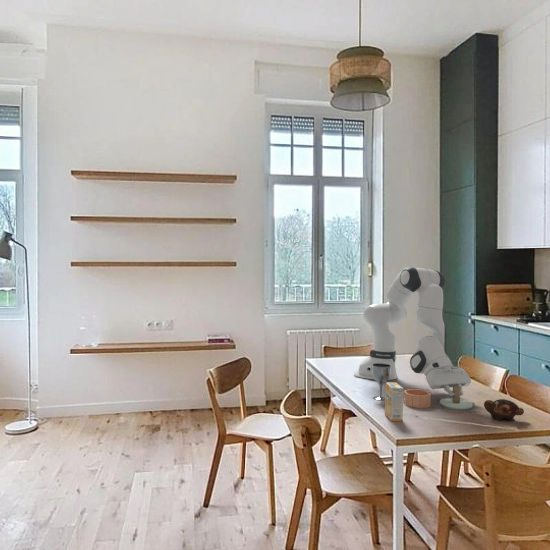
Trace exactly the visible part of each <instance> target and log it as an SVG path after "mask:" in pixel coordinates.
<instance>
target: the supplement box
mask: <svg viewBox="0 0 550 550" xmlns="http://www.w3.org/2000/svg"><path fill="white" fill-rule="evenodd" d="M384 393H385V395H384V397H385V401H384V415H385V416H386V417H387V418H388V419H389V420H390V421H391V422H403V416H404V414H403V412H404V387H403V386H402V385H401V384H399V383H397V382H385V392H384Z"/></svg>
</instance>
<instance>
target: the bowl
mask: <svg viewBox="0 0 550 550" xmlns="http://www.w3.org/2000/svg"><path fill="white" fill-rule="evenodd" d="M403 405H405V406H407V407H410V408H411V407H412V408H418V409H426V408H430V407H431V405H432V393H431V392H430V391H429V390H424V389H417V388H409V389H403Z"/></svg>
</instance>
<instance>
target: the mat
mask: <svg viewBox="0 0 550 550" xmlns="http://www.w3.org/2000/svg"><path fill="white" fill-rule="evenodd" d="M441 399H442V398H438V399H437V402H436V409H443V410H451V411H457V412H466V413H467V412H468V413H476V405H475V404H476V403H475V402H471V401H470V402H471V403H472V408H471V409H468V410H456V409H450V408H446V407H443V406H441V405H440V400H441Z"/></svg>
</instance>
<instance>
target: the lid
mask: <svg viewBox="0 0 550 550" xmlns="http://www.w3.org/2000/svg"><path fill="white" fill-rule="evenodd" d="M452 391H454V393H455V395H454V396H452V397H445V398H440V399H441V400H440V405H441V406H443V407H446V408H450V409H456V410H455V411H457V410H468V409H471V408H472V403H471V401H468V400H466V399H462V398H461V396H460V386H453V387H452Z"/></svg>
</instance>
